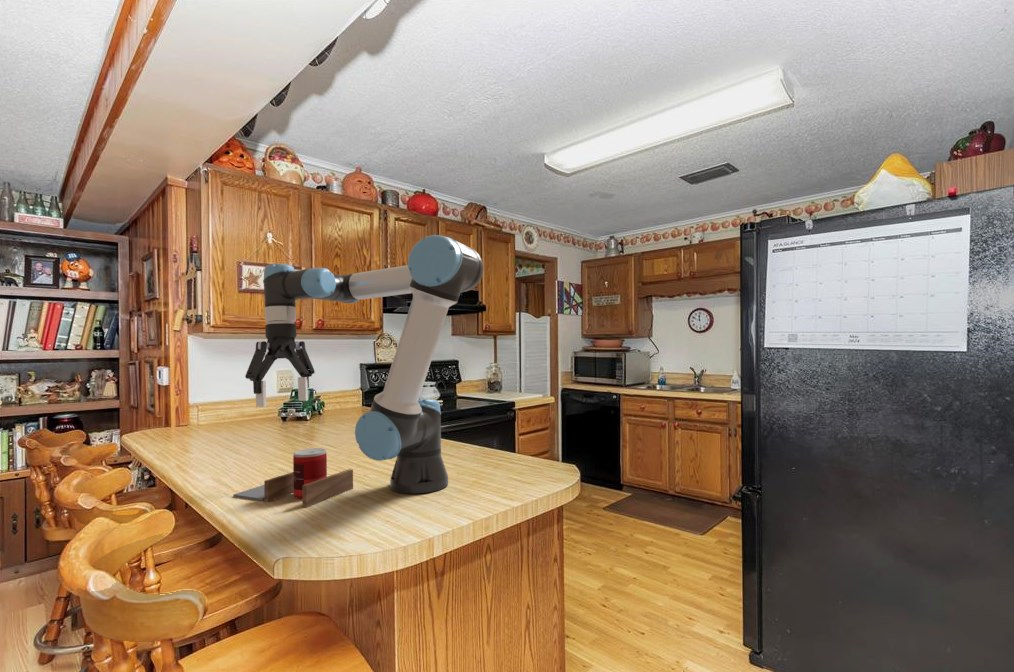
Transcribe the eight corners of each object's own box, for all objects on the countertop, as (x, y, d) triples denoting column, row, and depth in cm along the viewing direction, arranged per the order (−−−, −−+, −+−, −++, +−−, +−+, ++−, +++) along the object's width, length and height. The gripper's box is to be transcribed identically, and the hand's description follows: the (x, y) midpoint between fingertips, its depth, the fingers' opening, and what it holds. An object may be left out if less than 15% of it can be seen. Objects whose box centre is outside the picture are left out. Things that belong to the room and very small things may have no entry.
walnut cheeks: (353, 488, 129) (352, 469, 129) (306, 507, 114) (306, 485, 114) (314, 483, 134) (313, 465, 134) (264, 501, 119) (264, 480, 119)
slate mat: (294, 489, 129) (294, 487, 129) (262, 501, 120) (262, 498, 120) (266, 486, 133) (266, 484, 133) (233, 496, 123) (233, 494, 123)
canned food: (332, 490, 128) (331, 448, 128) (317, 500, 120) (316, 454, 120) (304, 490, 128) (303, 448, 129) (287, 499, 120) (287, 454, 121)
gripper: (306, 325, 143) (308, 398, 142) (227, 322, 120) (230, 409, 120) (326, 324, 140) (328, 398, 139) (249, 320, 117) (252, 409, 117)
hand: (283, 403), depth 129 cm, fingers open, 13 cm apart
